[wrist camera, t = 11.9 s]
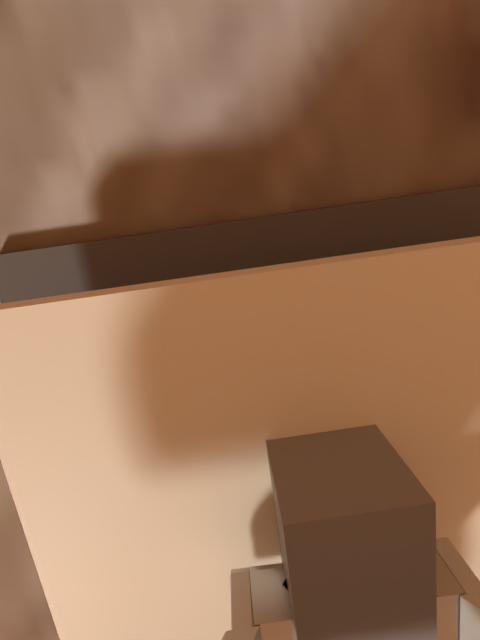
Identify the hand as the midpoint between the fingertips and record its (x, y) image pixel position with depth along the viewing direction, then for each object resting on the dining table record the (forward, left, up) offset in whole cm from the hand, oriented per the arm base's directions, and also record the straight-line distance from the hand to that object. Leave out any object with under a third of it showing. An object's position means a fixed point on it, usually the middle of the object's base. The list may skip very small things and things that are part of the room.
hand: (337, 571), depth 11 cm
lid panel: (0, 0, -3) cm, 3 cm away
